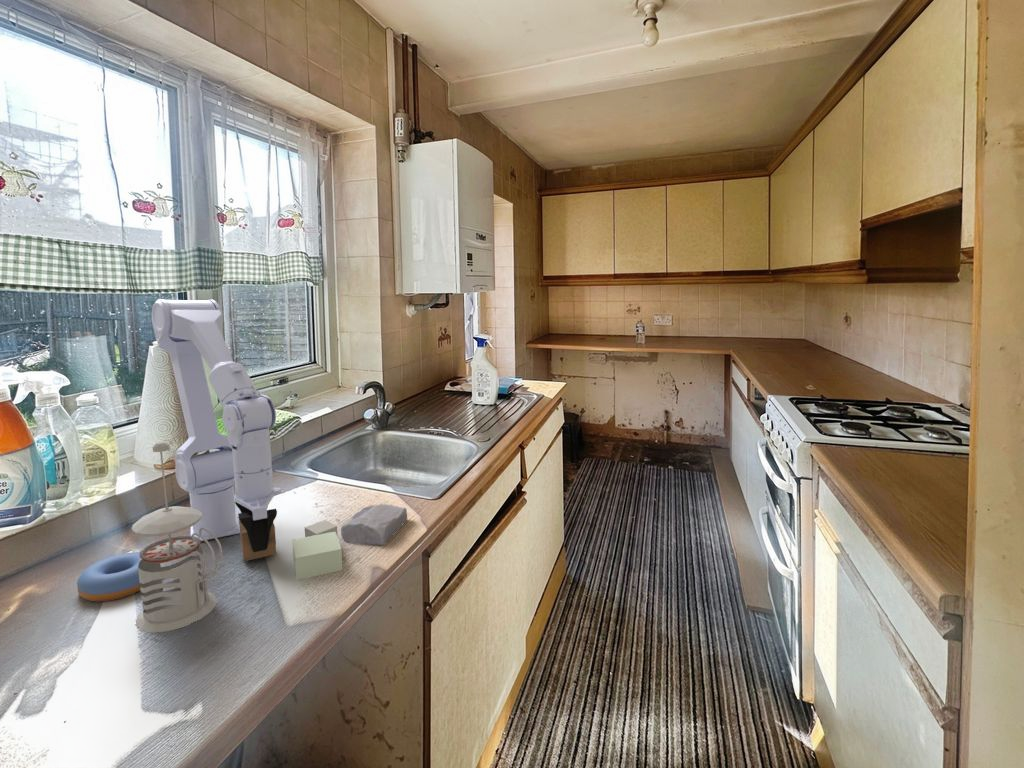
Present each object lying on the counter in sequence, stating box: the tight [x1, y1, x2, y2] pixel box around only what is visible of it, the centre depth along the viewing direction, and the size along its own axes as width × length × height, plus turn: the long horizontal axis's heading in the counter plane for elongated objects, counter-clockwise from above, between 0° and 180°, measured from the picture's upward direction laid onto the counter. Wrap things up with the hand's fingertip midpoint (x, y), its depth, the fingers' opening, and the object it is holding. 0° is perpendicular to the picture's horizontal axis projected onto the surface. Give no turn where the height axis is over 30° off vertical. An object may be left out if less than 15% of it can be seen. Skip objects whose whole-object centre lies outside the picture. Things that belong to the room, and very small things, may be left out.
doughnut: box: [76, 551, 142, 602], centre depth 77 cm, size 10×10×5 cm
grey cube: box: [304, 519, 339, 539], centre depth 90 cm, size 4×4×4 cm
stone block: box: [340, 503, 408, 546], centre depth 97 cm, size 12×5×10 cm
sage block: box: [292, 532, 343, 581], centre depth 84 cm, size 7×7×4 cm
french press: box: [131, 441, 223, 634], centre depth 70 cm, size 10×12×25 cm
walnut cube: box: [238, 521, 277, 562], centre depth 86 cm, size 5×5×5 cm
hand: (258, 543), depth 86 cm, fingers closed on walnut cube, 5 cm apart
